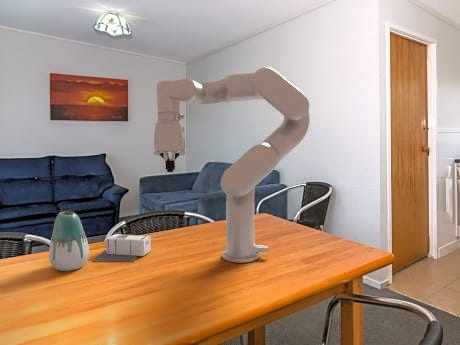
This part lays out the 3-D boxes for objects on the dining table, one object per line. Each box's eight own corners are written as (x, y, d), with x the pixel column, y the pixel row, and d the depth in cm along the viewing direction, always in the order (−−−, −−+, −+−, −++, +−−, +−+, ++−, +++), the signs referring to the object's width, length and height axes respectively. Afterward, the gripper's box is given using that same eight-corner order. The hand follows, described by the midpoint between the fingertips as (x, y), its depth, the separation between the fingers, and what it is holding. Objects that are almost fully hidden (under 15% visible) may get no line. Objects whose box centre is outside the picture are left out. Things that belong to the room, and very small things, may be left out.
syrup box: (143, 240, 115) (105, 237, 119) (143, 257, 116) (105, 253, 119) (150, 235, 121) (114, 233, 124) (151, 251, 122) (114, 248, 125)
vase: (97, 262, 112) (95, 209, 110) (70, 276, 101) (67, 217, 99) (70, 259, 115) (66, 207, 113) (41, 271, 104) (37, 215, 103)
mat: (142, 250, 123) (142, 249, 123) (134, 261, 112) (133, 260, 112) (104, 250, 123) (104, 249, 123) (92, 261, 113) (92, 260, 112)
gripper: (192, 118, 119) (193, 170, 121) (149, 119, 119) (151, 171, 121) (189, 117, 111) (190, 172, 113) (144, 118, 112) (146, 173, 113)
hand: (170, 171), depth 117 cm, fingers closed
